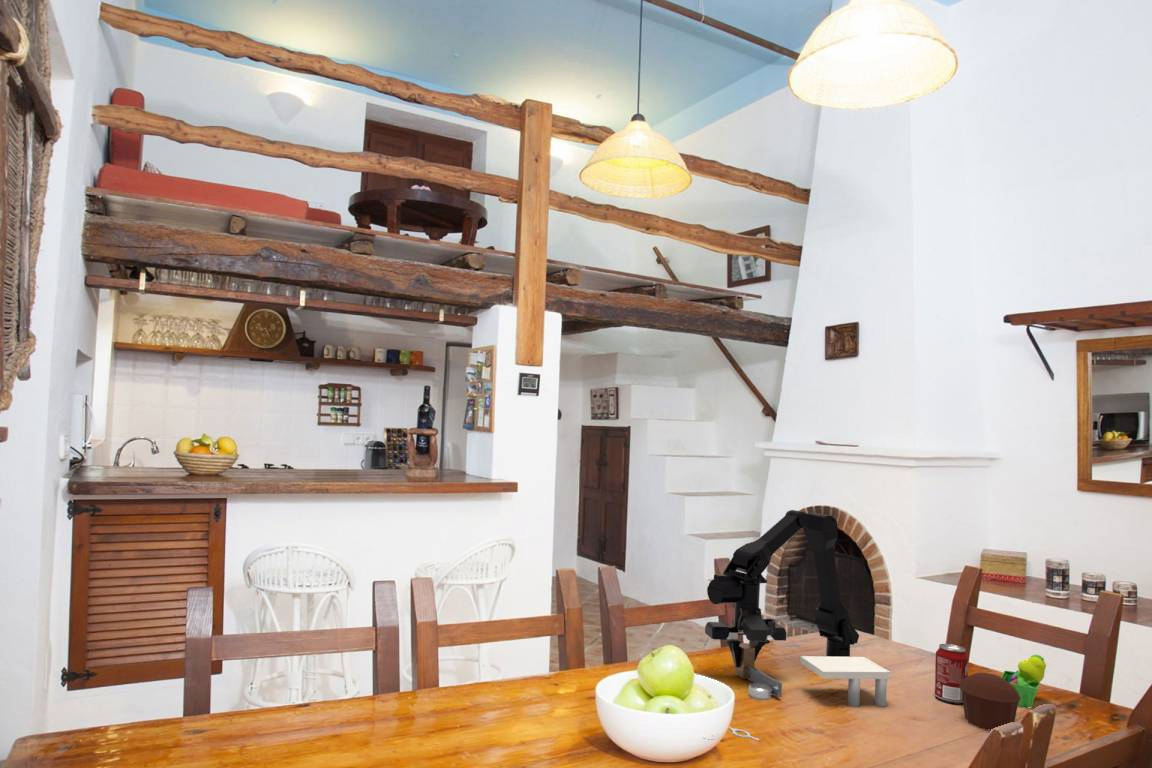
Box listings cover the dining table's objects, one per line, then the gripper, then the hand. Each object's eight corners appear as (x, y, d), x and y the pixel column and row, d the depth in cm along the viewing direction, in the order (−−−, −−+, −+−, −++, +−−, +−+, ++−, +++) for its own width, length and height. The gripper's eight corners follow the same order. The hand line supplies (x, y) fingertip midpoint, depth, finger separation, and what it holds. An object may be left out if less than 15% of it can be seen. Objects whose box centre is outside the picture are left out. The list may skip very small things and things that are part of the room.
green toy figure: (1003, 690, 186) (1004, 643, 186) (1046, 700, 181) (1047, 651, 181) (998, 703, 176) (1000, 653, 177) (1043, 713, 171) (1044, 662, 172)
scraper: (734, 673, 185) (735, 643, 185) (745, 672, 186) (746, 643, 186) (773, 697, 169) (774, 665, 169) (785, 696, 170) (785, 664, 170)
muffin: (1028, 727, 162) (1029, 679, 162) (1008, 739, 155) (1010, 688, 155) (969, 709, 171) (971, 663, 171) (948, 719, 163) (950, 672, 164)
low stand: (799, 688, 178) (800, 656, 178) (862, 689, 180) (863, 656, 181) (822, 706, 167) (823, 671, 167) (889, 706, 169) (890, 672, 170)
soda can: (963, 707, 172) (965, 653, 172) (931, 699, 176) (933, 646, 176) (969, 700, 177) (971, 647, 178) (937, 692, 181) (939, 641, 182)
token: (753, 700, 168) (754, 691, 169) (744, 692, 173) (745, 683, 173) (775, 700, 169) (775, 691, 170) (765, 692, 174) (765, 683, 174)
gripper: (722, 609, 175) (718, 678, 174) (798, 610, 178) (795, 678, 178) (705, 597, 186) (702, 662, 185) (777, 599, 189) (774, 663, 188)
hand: (743, 667), depth 184 cm, fingers closed on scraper, 3 cm apart
